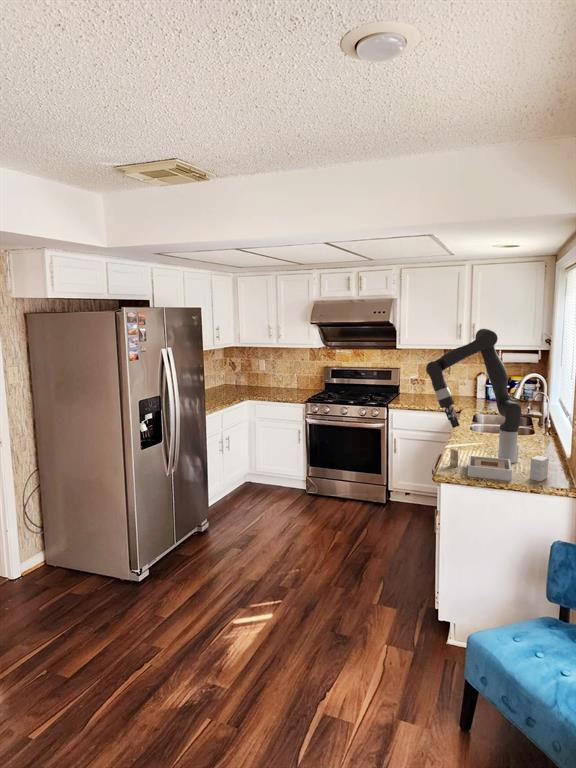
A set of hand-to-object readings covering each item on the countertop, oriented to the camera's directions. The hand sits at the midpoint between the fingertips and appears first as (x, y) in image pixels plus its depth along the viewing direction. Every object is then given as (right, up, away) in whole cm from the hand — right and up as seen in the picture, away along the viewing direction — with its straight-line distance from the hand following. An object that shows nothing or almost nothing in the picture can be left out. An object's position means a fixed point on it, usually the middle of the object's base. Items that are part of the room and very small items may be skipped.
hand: (456, 426), depth 269 cm
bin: (+14, -23, -6) cm, 28 cm away
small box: (+35, -24, -15) cm, 46 cm away
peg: (0, -21, +4) cm, 22 cm away
